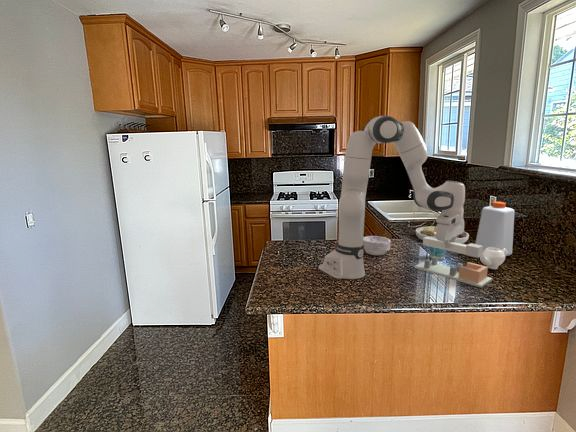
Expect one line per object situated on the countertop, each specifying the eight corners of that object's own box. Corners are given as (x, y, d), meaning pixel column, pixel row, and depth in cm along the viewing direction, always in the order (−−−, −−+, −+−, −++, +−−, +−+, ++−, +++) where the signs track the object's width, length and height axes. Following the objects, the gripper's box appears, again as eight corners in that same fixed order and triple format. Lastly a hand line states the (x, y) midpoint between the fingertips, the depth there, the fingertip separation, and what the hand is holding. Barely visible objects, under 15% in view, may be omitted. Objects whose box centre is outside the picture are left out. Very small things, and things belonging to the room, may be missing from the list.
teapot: (515, 267, 164) (518, 249, 162) (486, 273, 156) (488, 254, 154) (497, 261, 173) (499, 243, 171) (468, 266, 165) (470, 248, 163)
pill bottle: (446, 257, 178) (449, 232, 175) (441, 261, 173) (443, 235, 170) (431, 254, 183) (434, 230, 180) (426, 258, 178) (428, 233, 175)
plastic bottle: (488, 247, 196) (494, 199, 190) (515, 255, 182) (522, 203, 176) (470, 251, 189) (476, 201, 183) (497, 259, 176) (504, 206, 170)
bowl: (406, 239, 213) (407, 227, 211) (428, 231, 233) (429, 219, 231) (455, 250, 191) (457, 236, 190) (475, 240, 211) (477, 227, 209)
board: (414, 267, 164) (415, 256, 163) (426, 262, 172) (427, 250, 170) (481, 287, 142) (482, 274, 140) (492, 280, 149) (493, 267, 148)
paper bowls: (379, 247, 196) (380, 234, 194) (395, 255, 182) (396, 241, 180) (356, 250, 191) (356, 236, 190) (370, 258, 177) (371, 244, 175)
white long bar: (422, 245, 164) (422, 236, 163) (426, 243, 166) (427, 234, 165) (477, 257, 145) (478, 247, 144) (481, 255, 148) (482, 245, 147)
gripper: (455, 212, 162) (452, 240, 165) (434, 219, 149) (432, 249, 152) (469, 214, 157) (466, 243, 160) (448, 221, 144) (446, 252, 147)
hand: (449, 246), depth 156 cm, fingers closed on white long bar, 3 cm apart
